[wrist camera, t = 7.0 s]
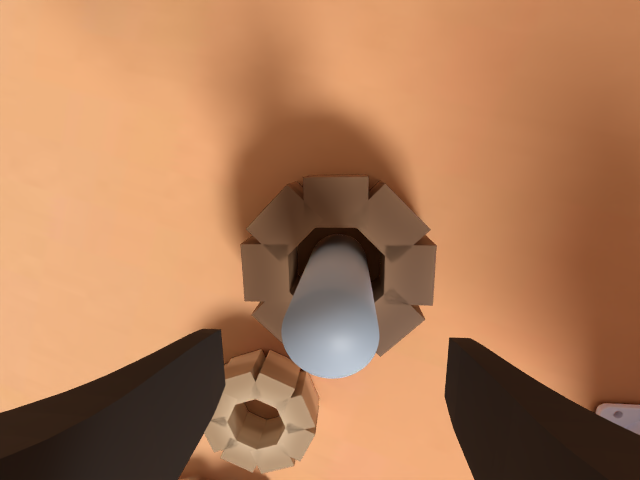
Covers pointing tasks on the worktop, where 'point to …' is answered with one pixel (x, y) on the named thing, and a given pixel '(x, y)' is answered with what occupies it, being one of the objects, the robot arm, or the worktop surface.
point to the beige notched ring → (258, 433)
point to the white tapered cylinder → (332, 311)
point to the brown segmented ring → (341, 212)
